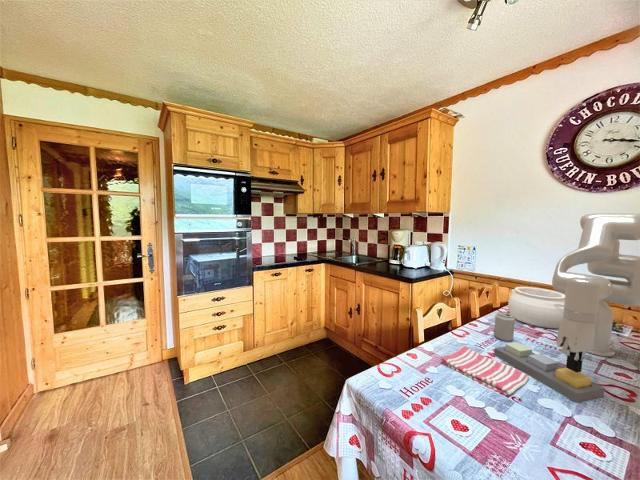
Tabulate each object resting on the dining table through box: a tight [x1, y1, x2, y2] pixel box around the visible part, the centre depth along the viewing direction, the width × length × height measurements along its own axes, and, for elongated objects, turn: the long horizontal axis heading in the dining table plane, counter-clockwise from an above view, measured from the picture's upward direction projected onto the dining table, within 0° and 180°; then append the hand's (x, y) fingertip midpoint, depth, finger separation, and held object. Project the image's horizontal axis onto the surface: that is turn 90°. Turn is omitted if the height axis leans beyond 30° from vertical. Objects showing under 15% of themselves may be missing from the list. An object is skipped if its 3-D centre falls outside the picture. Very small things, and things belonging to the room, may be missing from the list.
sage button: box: [504, 341, 533, 358], centre depth 101 cm, size 6×6×3 cm
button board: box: [493, 346, 606, 403], centre depth 93 cm, size 12×28×3 cm, turn 14°
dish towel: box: [440, 345, 530, 397], centre depth 94 cm, size 17×23×4 cm
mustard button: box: [555, 367, 592, 389], centre depth 84 cm, size 6×6×3 cm
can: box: [493, 311, 516, 342], centre depth 120 cm, size 8×8×12 cm
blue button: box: [528, 353, 560, 372], centre depth 93 cm, size 6×6×3 cm
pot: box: [507, 286, 565, 329], centre depth 141 cm, size 29×26×16 cm
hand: (573, 369), depth 84 cm, fingers closed
